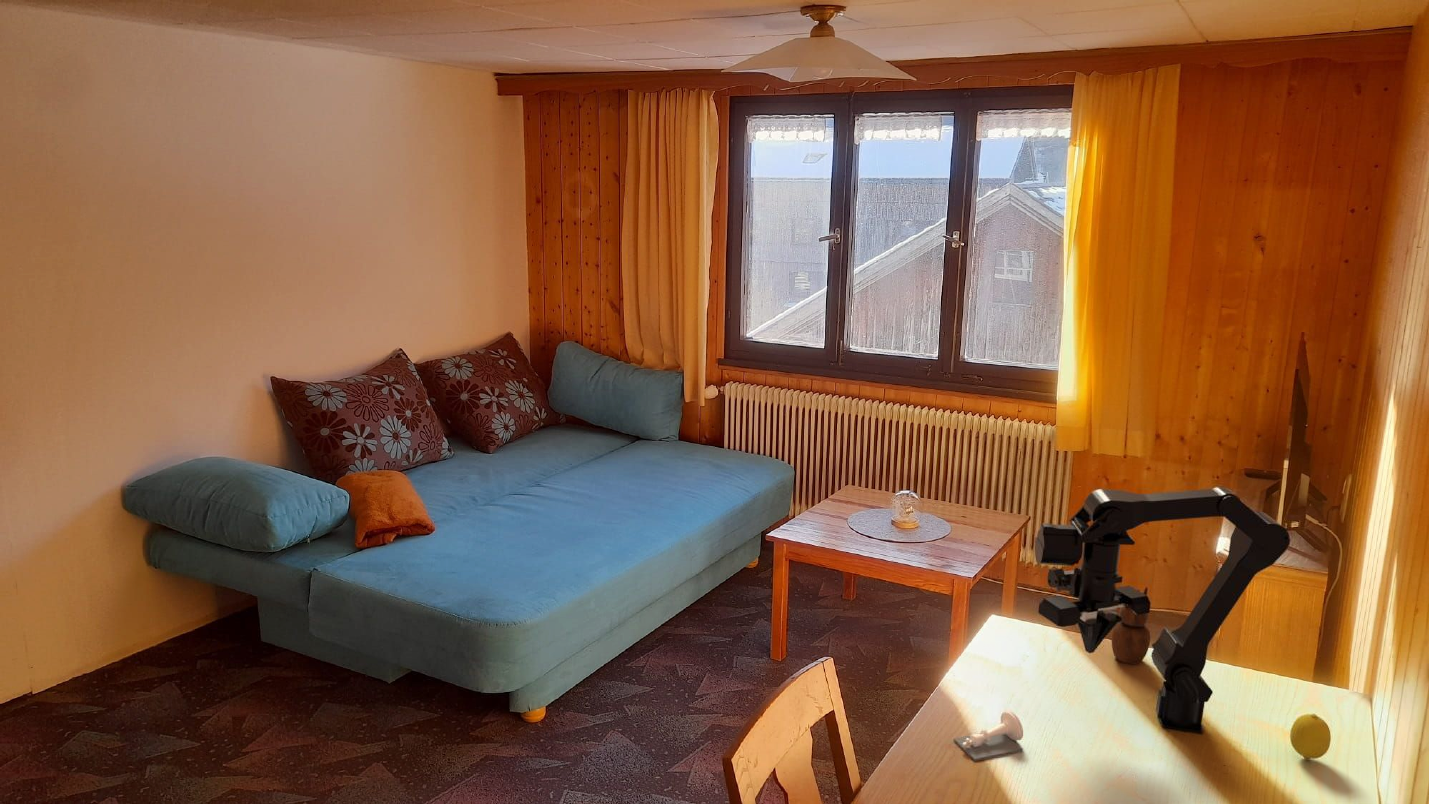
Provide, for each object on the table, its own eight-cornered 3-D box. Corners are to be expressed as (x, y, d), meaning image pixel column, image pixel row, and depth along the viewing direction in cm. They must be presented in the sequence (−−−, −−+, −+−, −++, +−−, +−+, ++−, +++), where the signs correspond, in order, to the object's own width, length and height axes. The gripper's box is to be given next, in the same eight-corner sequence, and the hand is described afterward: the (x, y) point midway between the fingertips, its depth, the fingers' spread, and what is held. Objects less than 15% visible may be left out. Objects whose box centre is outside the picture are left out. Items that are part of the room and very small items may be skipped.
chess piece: (1024, 721, 163) (973, 742, 159) (1022, 745, 165) (972, 766, 161) (1004, 704, 167) (954, 723, 164) (1003, 728, 169) (953, 747, 165)
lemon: (1325, 773, 158) (1334, 727, 157) (1285, 761, 161) (1293, 717, 159) (1326, 756, 163) (1334, 711, 161) (1287, 745, 166) (1295, 701, 164)
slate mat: (1000, 731, 168) (1000, 729, 168) (1022, 751, 163) (1022, 749, 163) (953, 740, 165) (953, 738, 165) (974, 761, 160) (974, 758, 160)
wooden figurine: (1145, 656, 195) (1155, 584, 192) (1147, 669, 190) (1157, 596, 186) (1108, 650, 197) (1117, 578, 194) (1109, 663, 192) (1118, 590, 189)
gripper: (1111, 542, 178) (1101, 624, 181) (1022, 554, 172) (1014, 638, 175) (1158, 566, 167) (1146, 652, 171) (1065, 580, 161) (1055, 668, 165)
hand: (1089, 651), depth 171 cm, fingers closed
